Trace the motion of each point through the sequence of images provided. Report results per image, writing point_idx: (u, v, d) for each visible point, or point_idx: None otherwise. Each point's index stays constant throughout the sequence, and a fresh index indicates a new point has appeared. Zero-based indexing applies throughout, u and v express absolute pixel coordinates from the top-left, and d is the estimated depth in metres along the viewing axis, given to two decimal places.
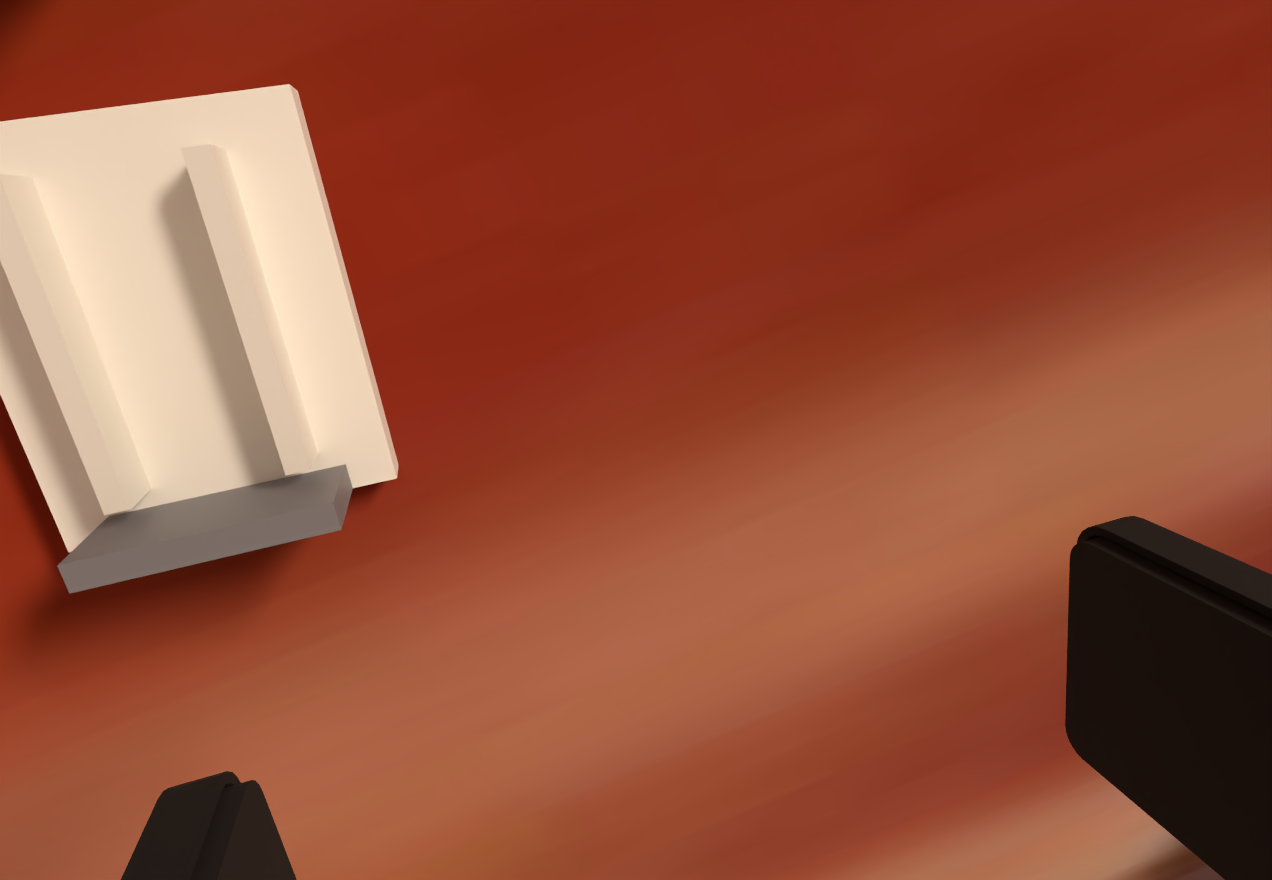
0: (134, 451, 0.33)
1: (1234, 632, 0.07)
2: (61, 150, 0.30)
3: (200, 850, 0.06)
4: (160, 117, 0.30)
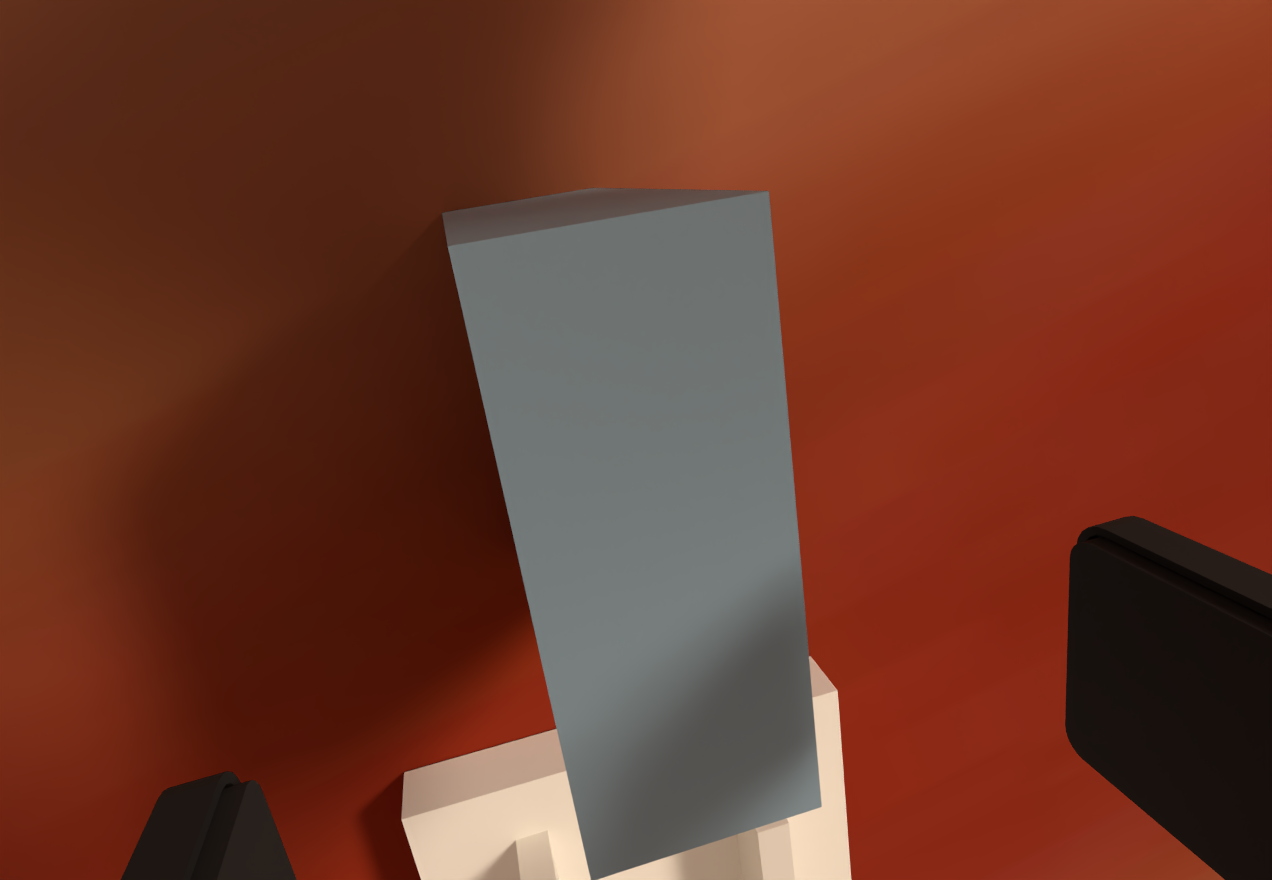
0: None
1: (1234, 632, 0.07)
2: None
3: (200, 850, 0.06)
4: None
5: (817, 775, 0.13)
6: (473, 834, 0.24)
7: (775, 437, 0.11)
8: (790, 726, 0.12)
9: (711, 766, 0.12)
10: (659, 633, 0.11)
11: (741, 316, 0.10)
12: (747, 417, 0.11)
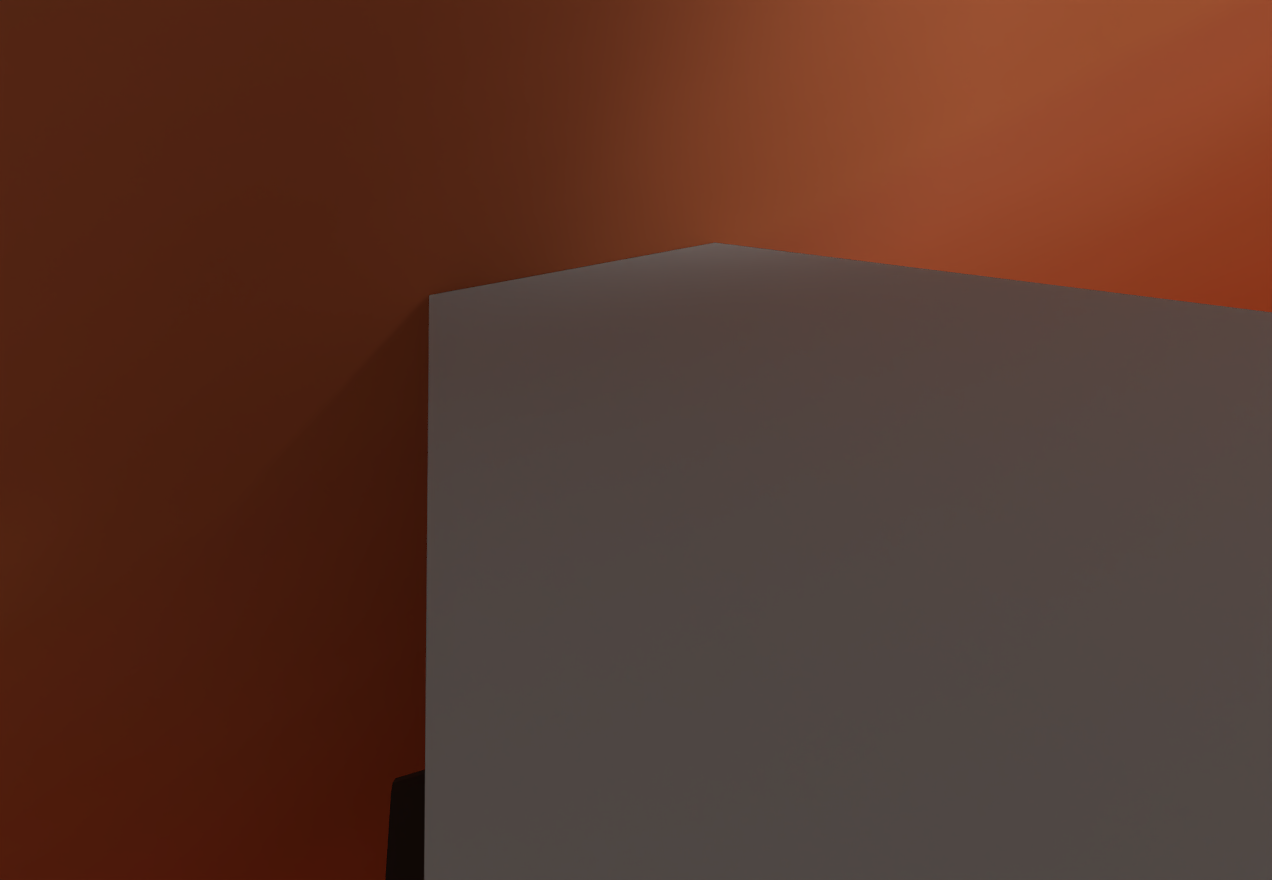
0: None
1: None
2: None
3: None
4: None
5: None
6: None
7: None
8: None
9: None
10: None
11: None
12: None
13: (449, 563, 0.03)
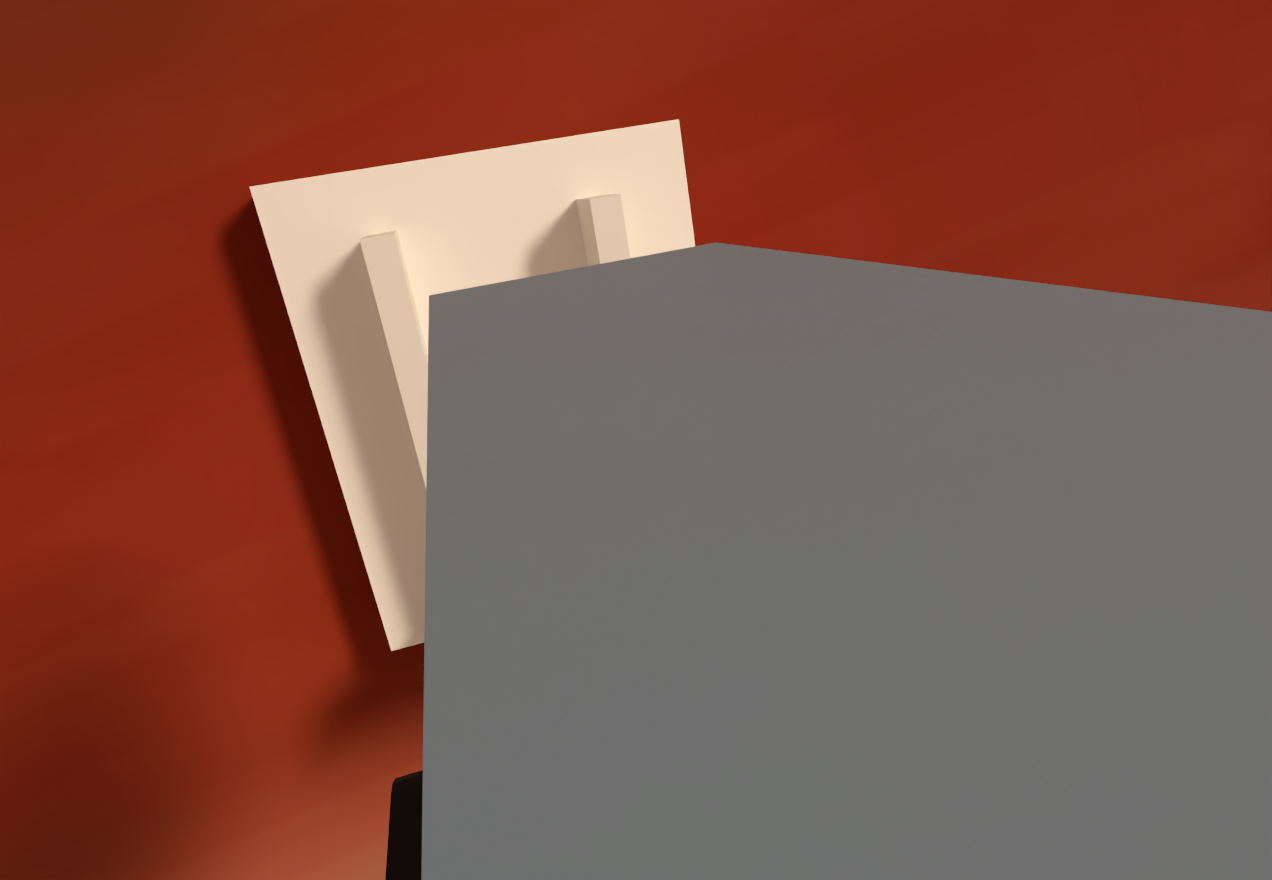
0: None
1: None
2: (431, 199, 0.26)
3: None
4: (539, 159, 0.26)
5: None
6: (322, 220, 0.25)
7: None
8: None
9: None
10: None
11: None
12: None
13: (448, 568, 0.02)
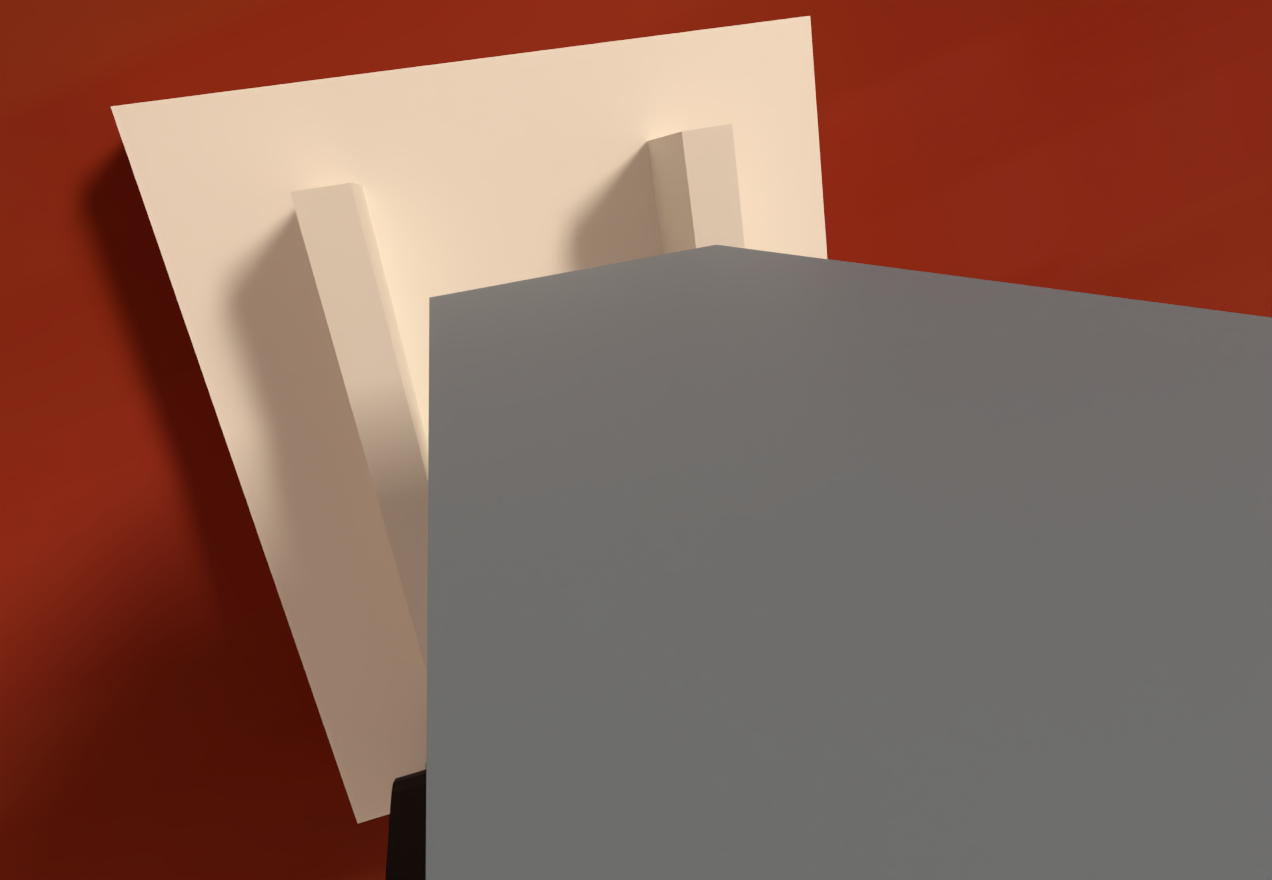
0: None
1: None
2: (417, 136, 0.16)
3: None
4: (592, 75, 0.16)
5: None
6: (237, 166, 0.15)
7: None
8: None
9: None
10: None
11: None
12: None
13: (451, 577, 0.02)
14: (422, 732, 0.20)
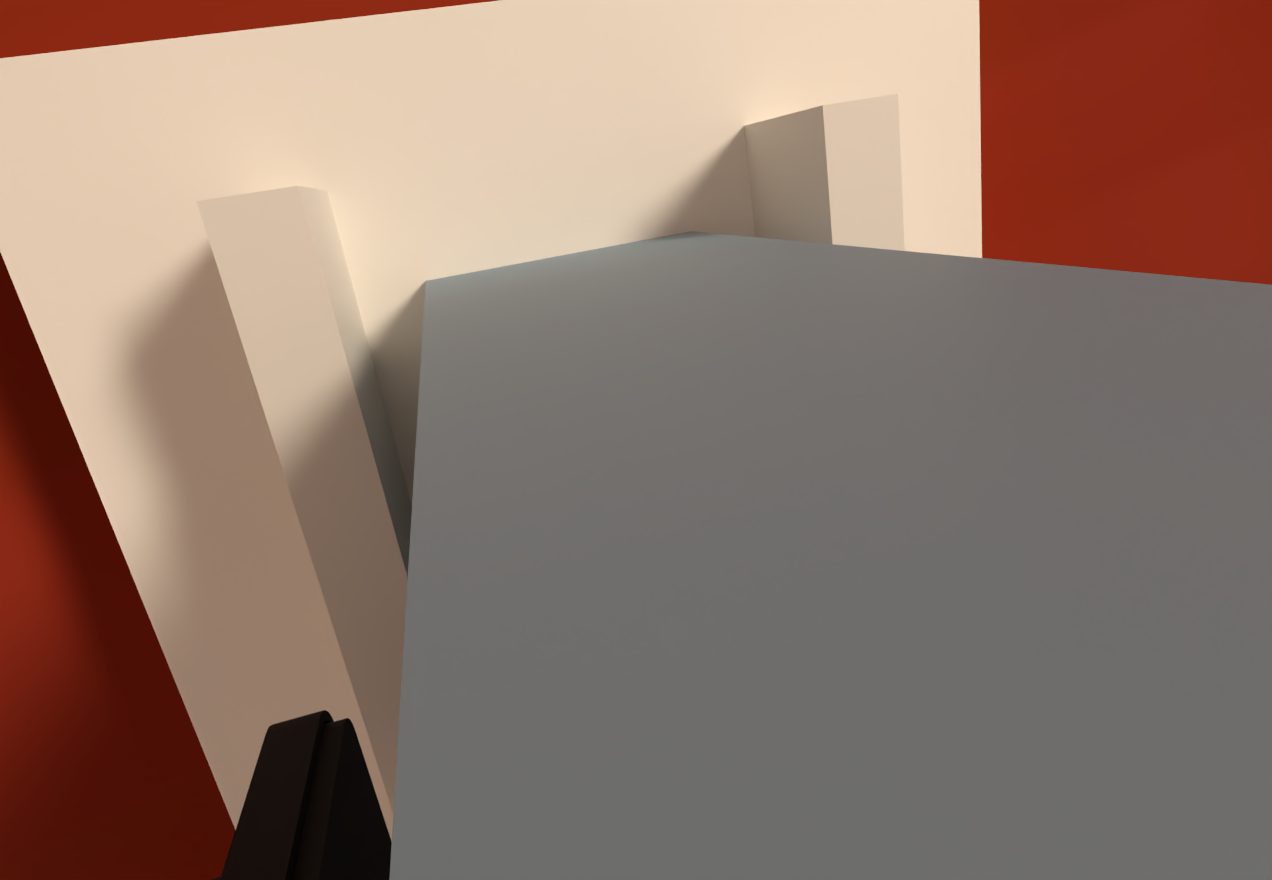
0: None
1: None
2: (410, 116, 0.10)
3: (313, 773, 0.07)
4: (668, 27, 0.11)
5: None
6: (133, 161, 0.10)
7: None
8: None
9: None
10: None
11: None
12: None
13: (432, 448, 0.03)
14: None
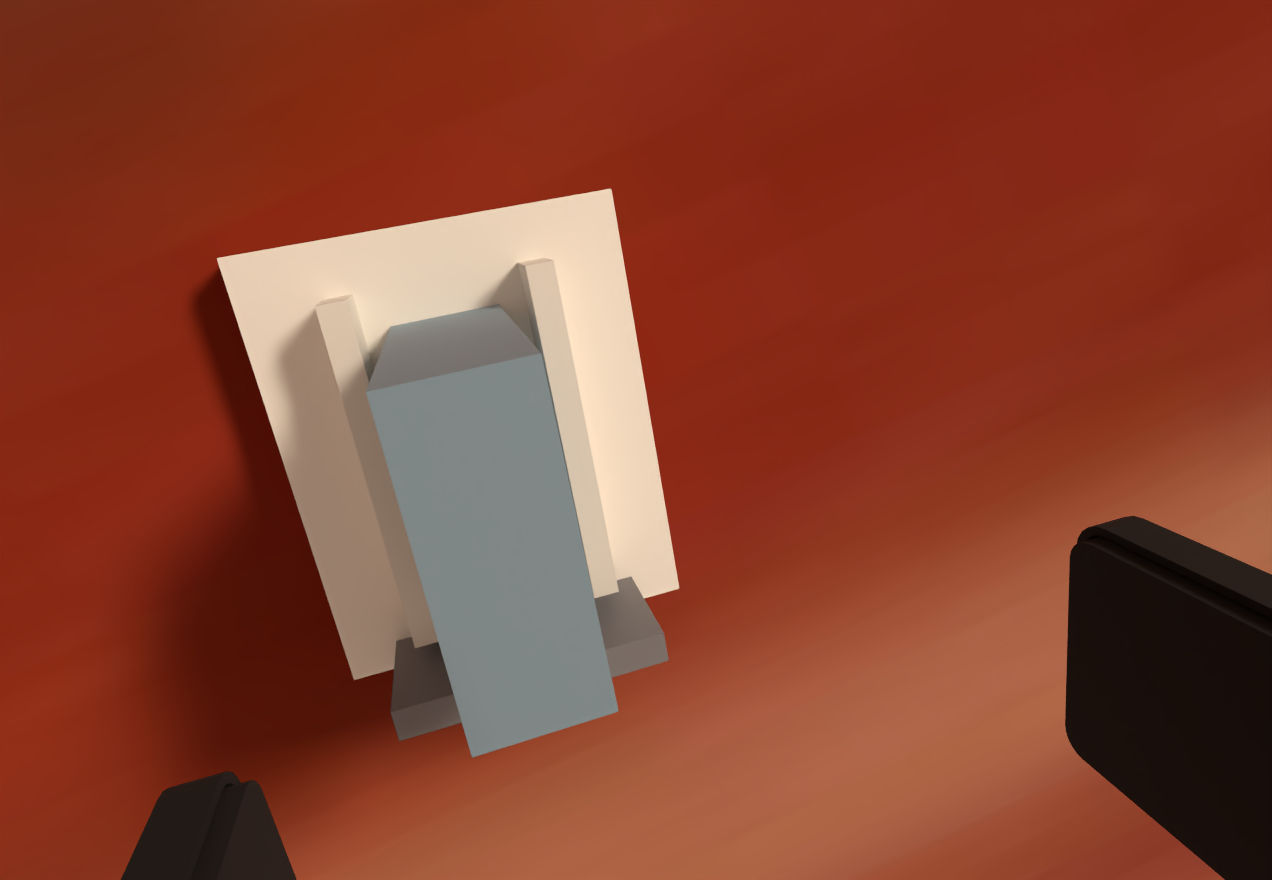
0: None
1: (1233, 632, 0.07)
2: (383, 265, 0.28)
3: (201, 850, 0.06)
4: (483, 227, 0.29)
5: (612, 690, 0.21)
6: (283, 286, 0.27)
7: (560, 484, 0.19)
8: (591, 658, 0.21)
9: (543, 683, 0.20)
10: (501, 600, 0.20)
11: (532, 419, 0.19)
12: (542, 474, 0.19)
13: (379, 364, 0.21)
14: (393, 620, 0.32)
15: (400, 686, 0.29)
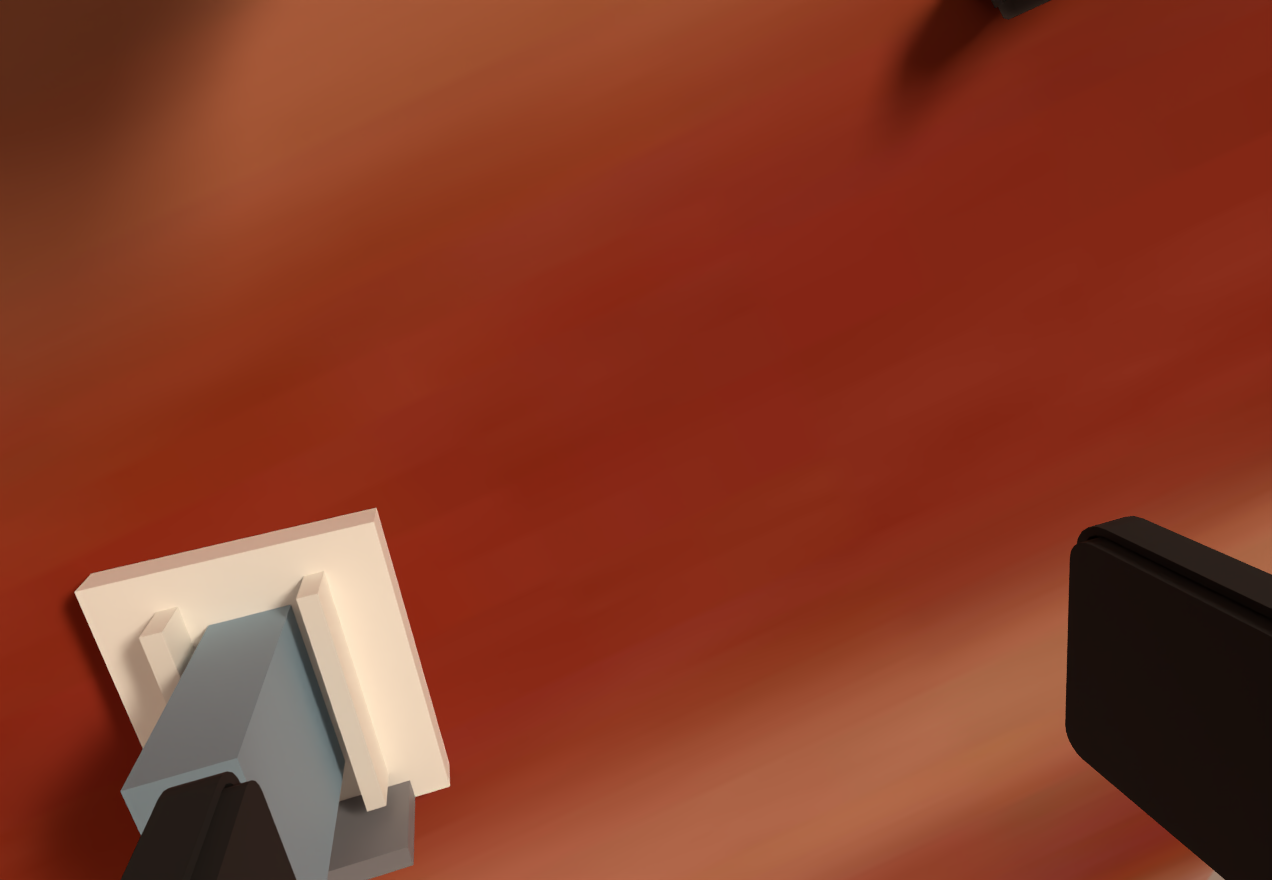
0: None
1: (1234, 632, 0.07)
2: (200, 586, 0.39)
3: (201, 850, 0.06)
4: (275, 555, 0.39)
5: None
6: (125, 605, 0.38)
7: None
8: None
9: None
10: None
11: None
12: None
13: (155, 728, 0.32)
14: None
15: None
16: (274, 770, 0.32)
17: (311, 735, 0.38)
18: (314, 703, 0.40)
